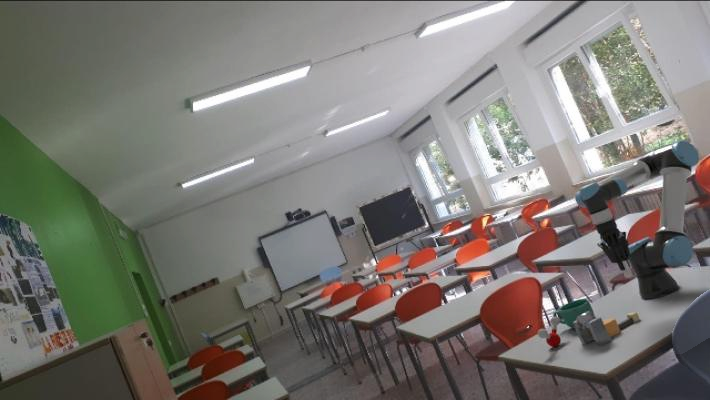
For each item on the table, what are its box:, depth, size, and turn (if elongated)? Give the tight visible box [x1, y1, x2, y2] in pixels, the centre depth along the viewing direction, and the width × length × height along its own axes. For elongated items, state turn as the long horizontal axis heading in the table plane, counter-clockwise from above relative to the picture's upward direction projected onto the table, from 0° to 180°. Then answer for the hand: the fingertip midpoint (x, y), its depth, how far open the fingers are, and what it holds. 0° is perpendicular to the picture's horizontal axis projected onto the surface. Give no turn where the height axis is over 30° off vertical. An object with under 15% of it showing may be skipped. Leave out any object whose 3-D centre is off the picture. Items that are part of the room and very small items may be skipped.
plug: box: [602, 311, 640, 338], centre depth 219 cm, size 16×4×5 cm, turn 106°
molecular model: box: [537, 316, 561, 348], centre depth 231 cm, size 18×6×10 cm, turn 139°
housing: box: [572, 311, 612, 347], centre depth 216 cm, size 5×11×12 cm, turn 16°
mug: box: [552, 298, 595, 329], centre depth 245 cm, size 17×13×10 cm
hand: (629, 276), depth 224 cm, fingers closed
